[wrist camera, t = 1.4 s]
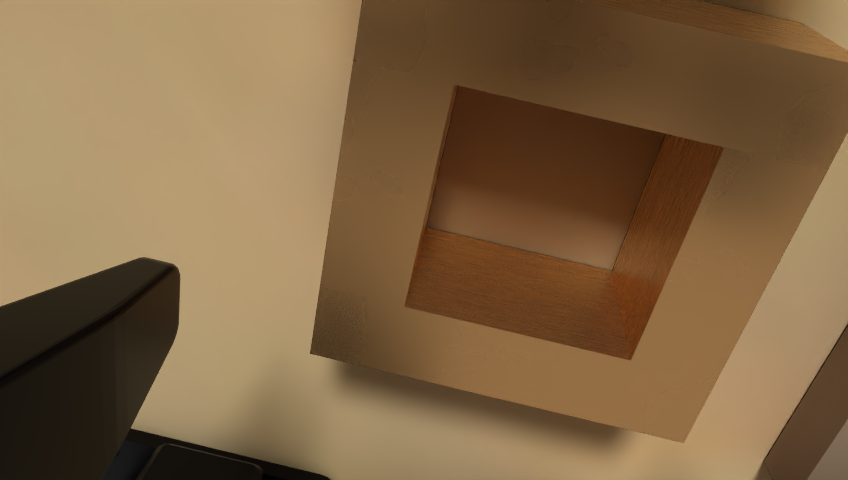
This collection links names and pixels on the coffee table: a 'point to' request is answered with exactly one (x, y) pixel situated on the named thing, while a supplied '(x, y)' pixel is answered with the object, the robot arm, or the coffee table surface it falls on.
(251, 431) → the coffee table surface
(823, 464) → the keeper plate
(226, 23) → the coffee table surface
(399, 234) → the brown hollow square block
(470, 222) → the coffee table surface
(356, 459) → the coffee table surface
